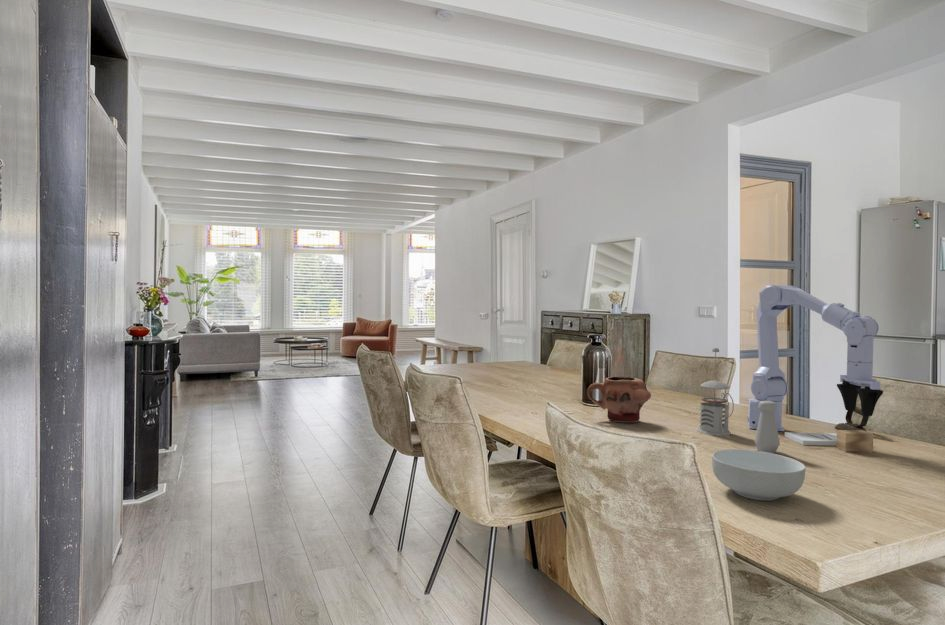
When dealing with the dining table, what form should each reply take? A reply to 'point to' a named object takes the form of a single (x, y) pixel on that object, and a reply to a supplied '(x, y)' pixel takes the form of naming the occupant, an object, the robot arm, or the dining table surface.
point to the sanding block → (854, 441)
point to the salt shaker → (767, 428)
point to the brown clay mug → (621, 397)
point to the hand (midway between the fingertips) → (858, 412)
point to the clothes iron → (849, 424)
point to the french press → (714, 409)
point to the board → (813, 438)
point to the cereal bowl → (758, 473)
